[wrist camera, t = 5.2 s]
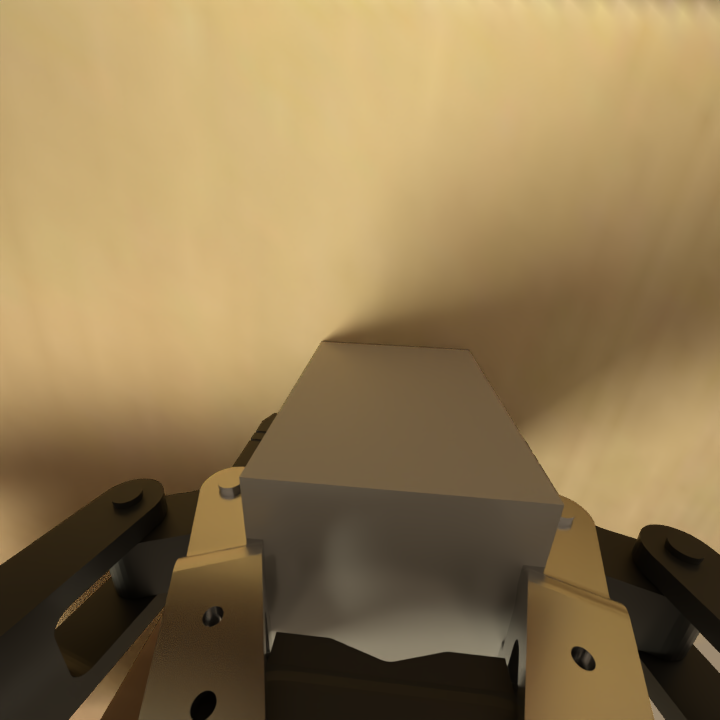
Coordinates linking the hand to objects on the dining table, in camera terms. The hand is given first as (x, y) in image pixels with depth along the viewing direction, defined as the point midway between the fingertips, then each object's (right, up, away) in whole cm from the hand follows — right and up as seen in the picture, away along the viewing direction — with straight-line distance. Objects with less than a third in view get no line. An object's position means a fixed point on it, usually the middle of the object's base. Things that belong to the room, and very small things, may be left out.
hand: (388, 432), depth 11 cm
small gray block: (0, -1, -2) cm, 2 cm away
